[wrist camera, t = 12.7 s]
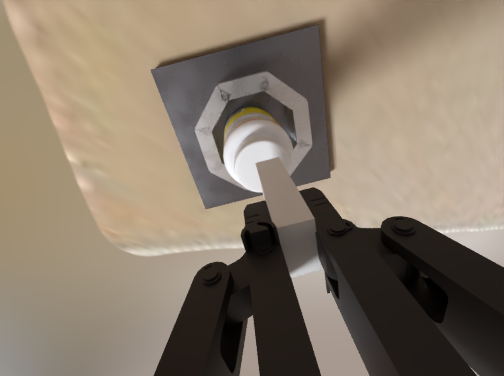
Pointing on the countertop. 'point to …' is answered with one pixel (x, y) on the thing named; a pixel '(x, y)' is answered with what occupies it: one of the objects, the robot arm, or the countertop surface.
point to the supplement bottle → (253, 145)
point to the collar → (243, 95)
